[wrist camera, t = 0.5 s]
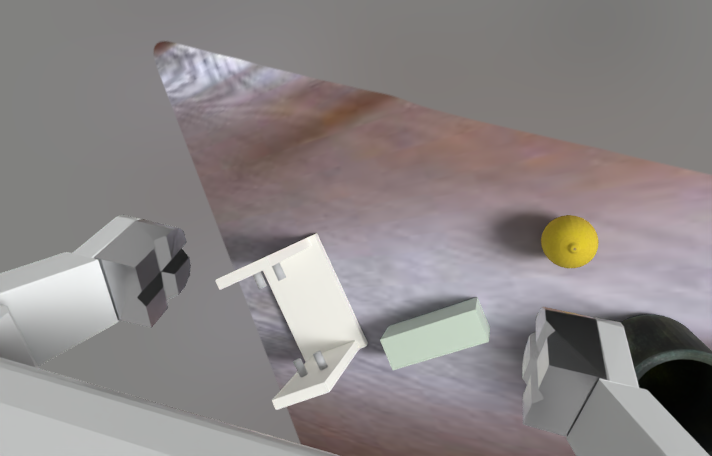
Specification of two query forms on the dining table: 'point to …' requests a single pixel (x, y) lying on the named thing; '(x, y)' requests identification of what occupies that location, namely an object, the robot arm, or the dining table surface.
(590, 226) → the lemon
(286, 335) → the dining table surface
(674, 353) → the mug
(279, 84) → the dining table surface
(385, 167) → the dining table surface
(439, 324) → the shelf board
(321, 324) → the shelf unit
